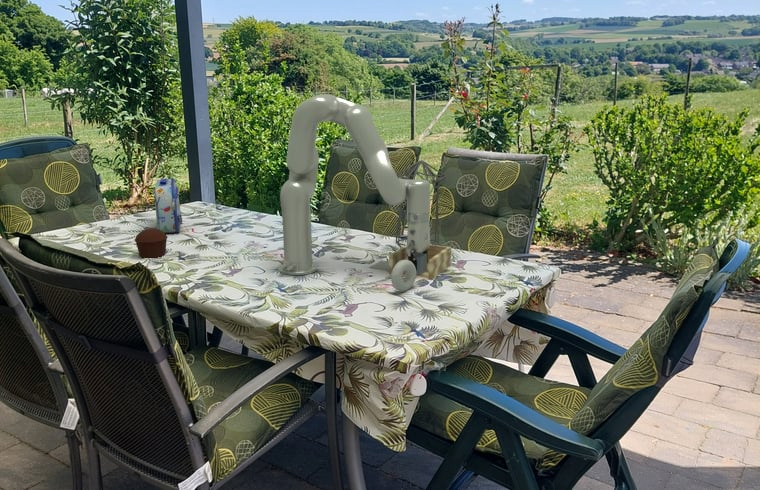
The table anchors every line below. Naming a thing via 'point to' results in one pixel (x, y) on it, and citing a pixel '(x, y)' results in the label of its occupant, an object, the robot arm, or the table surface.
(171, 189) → the lunch box
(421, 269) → the block
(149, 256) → the muffin
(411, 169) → the geometric lantern
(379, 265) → the coaster
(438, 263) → the box
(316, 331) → the table surface
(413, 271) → the donut
